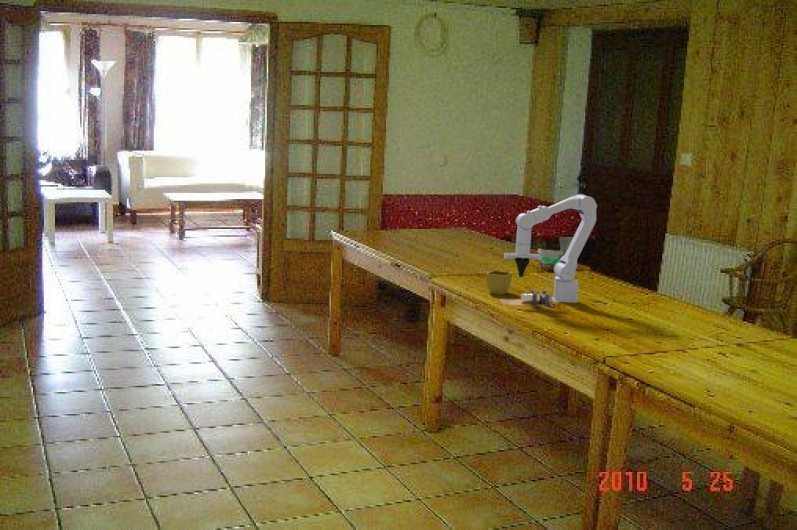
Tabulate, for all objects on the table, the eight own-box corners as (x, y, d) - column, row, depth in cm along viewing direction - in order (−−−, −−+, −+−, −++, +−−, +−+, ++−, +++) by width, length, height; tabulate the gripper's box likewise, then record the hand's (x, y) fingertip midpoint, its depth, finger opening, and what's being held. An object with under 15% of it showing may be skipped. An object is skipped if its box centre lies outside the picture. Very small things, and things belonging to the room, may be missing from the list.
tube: (549, 300, 332) (550, 292, 330) (551, 305, 329) (552, 297, 327) (520, 299, 331) (521, 291, 330) (521, 304, 328) (522, 296, 326)
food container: (534, 269, 402) (536, 249, 400) (536, 267, 408) (538, 247, 406) (560, 272, 399) (562, 251, 397) (561, 270, 405) (563, 249, 403)
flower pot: (484, 294, 344) (485, 273, 342) (492, 290, 351) (493, 269, 350) (504, 297, 340) (505, 275, 338) (511, 293, 347) (513, 272, 346)
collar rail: (545, 300, 335) (546, 289, 334) (550, 306, 325) (551, 295, 324) (527, 299, 335) (528, 289, 334) (531, 305, 325) (532, 294, 324)
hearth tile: (548, 301, 335) (548, 300, 335) (553, 307, 325) (553, 306, 325) (499, 299, 335) (499, 298, 335) (503, 305, 325) (503, 304, 325)
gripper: (506, 244, 326) (504, 277, 329) (543, 245, 327) (540, 279, 329) (504, 241, 333) (501, 274, 336) (539, 242, 334) (537, 275, 336)
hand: (520, 276), depth 333 cm, fingers closed
